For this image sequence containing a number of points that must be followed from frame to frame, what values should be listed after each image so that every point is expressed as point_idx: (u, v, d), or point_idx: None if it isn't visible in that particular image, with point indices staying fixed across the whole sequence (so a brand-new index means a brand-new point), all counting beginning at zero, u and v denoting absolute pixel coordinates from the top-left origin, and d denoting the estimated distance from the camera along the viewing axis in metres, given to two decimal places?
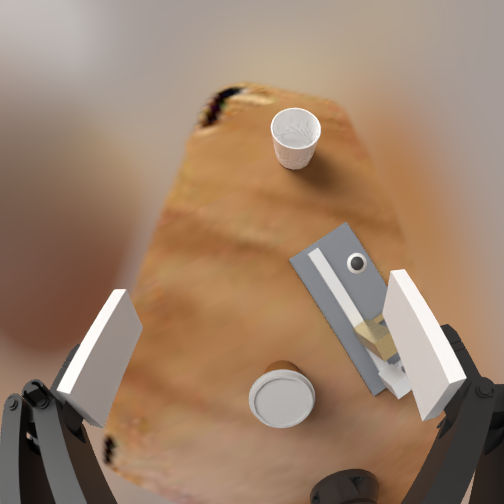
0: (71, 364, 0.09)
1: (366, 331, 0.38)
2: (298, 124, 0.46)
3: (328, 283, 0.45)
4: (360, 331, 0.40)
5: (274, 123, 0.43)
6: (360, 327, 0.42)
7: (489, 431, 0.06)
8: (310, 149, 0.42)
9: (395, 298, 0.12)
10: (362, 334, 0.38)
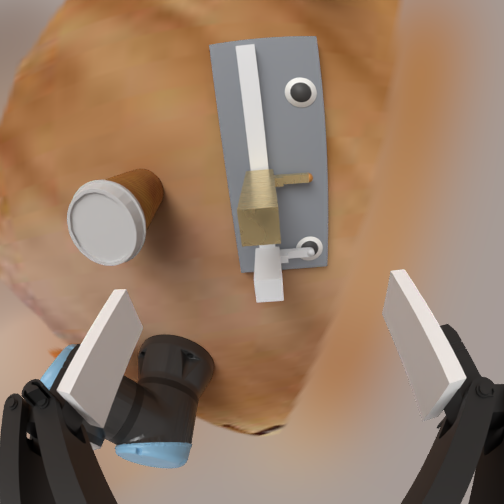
0: (71, 364, 0.09)
1: (252, 184, 0.26)
2: None
3: (243, 95, 0.27)
4: (248, 180, 0.27)
5: None
6: (255, 175, 0.29)
7: (489, 431, 0.06)
8: None
9: (395, 298, 0.12)
10: (244, 185, 0.26)
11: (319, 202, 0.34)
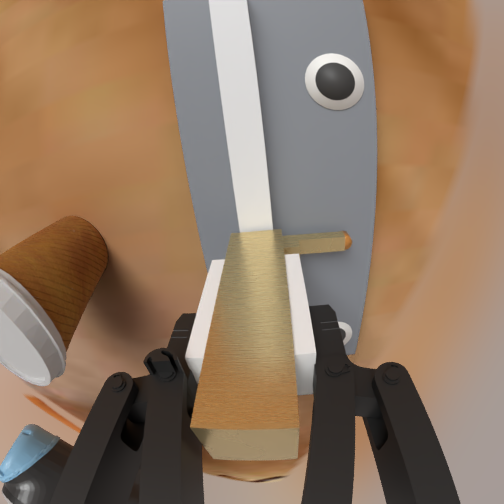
0: (194, 330, 0.10)
1: (239, 291, 0.12)
2: None
3: (223, 84, 0.13)
4: (232, 270, 0.14)
5: None
6: (247, 249, 0.15)
7: (374, 423, 0.08)
8: None
9: None
10: (222, 293, 0.12)
11: (355, 275, 0.20)
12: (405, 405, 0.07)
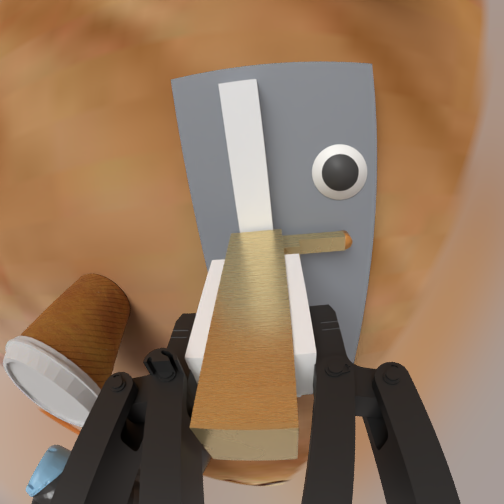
0: (194, 330, 0.10)
1: (239, 292, 0.12)
2: None
3: (236, 185, 0.16)
4: (232, 270, 0.14)
5: None
6: (247, 249, 0.15)
7: (374, 423, 0.08)
8: None
9: None
10: (221, 293, 0.12)
11: (349, 328, 0.23)
12: (405, 405, 0.07)
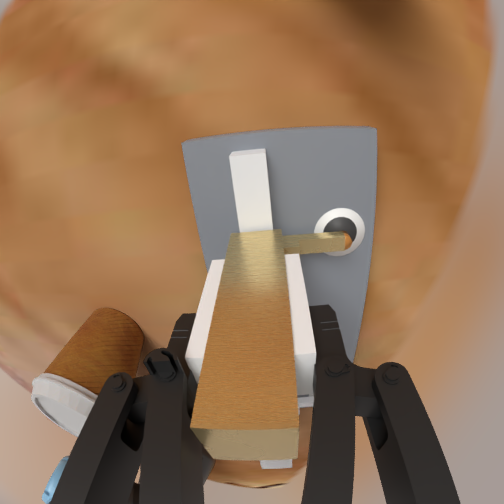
0: (194, 330, 0.10)
1: (239, 292, 0.12)
2: None
3: None
4: (232, 270, 0.14)
5: None
6: (247, 249, 0.15)
7: (374, 423, 0.08)
8: None
9: None
10: (222, 293, 0.12)
11: None
12: (405, 405, 0.07)
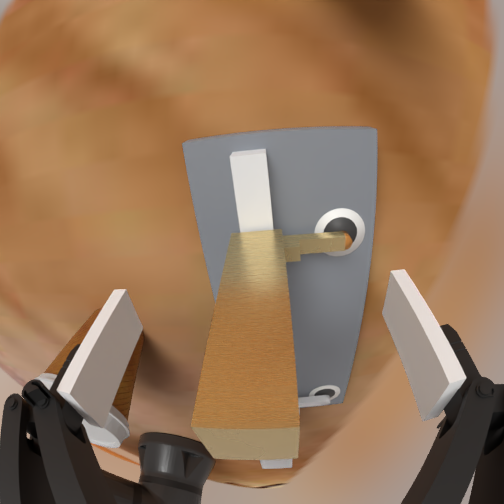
0: (71, 364, 0.09)
1: (239, 291, 0.12)
2: None
3: None
4: (233, 270, 0.14)
5: None
6: (247, 249, 0.15)
7: (489, 431, 0.06)
8: None
9: (395, 298, 0.12)
10: (222, 293, 0.12)
11: (343, 358, 0.25)
12: None
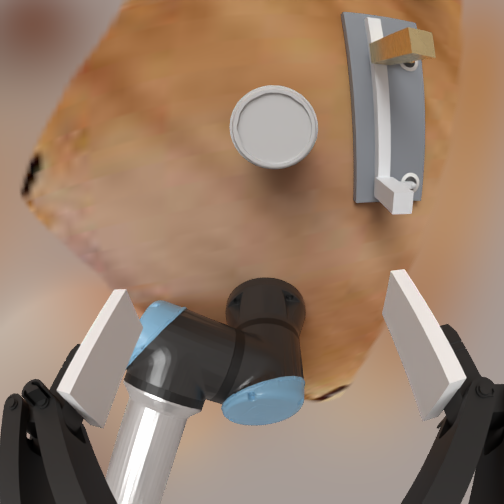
0: (71, 364, 0.09)
1: None
2: None
3: None
4: None
5: None
6: None
7: (489, 431, 0.06)
8: None
9: (395, 298, 0.12)
10: (386, 36, 0.23)
11: (419, 144, 0.36)
12: None
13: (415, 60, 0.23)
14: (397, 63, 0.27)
